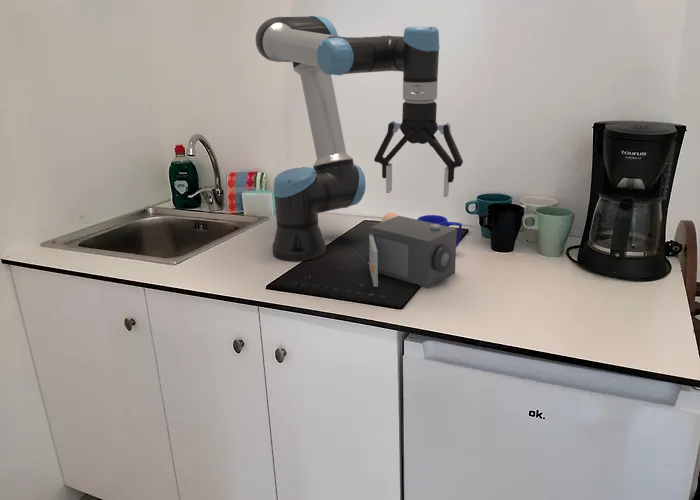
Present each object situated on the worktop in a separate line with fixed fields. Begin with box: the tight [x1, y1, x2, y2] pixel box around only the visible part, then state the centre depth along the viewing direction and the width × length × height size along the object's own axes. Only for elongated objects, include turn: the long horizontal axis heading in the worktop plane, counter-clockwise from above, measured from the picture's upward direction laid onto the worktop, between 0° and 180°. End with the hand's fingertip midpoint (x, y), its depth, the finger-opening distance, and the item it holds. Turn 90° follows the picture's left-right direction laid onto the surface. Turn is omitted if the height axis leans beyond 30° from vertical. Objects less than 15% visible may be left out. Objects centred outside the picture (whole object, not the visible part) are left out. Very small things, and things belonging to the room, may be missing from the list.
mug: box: [416, 214, 463, 248], centre depth 158 cm, size 8×12×10 cm
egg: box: [380, 211, 400, 223], centre depth 172 cm, size 7×7×8 cm
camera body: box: [369, 215, 458, 289], centre depth 145 cm, size 20×12×13 cm, turn 48°
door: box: [368, 233, 379, 288], centre depth 141 cm, size 12×2×10 cm, turn 3°
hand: (417, 193), depth 135 cm, fingers open, 13 cm apart
